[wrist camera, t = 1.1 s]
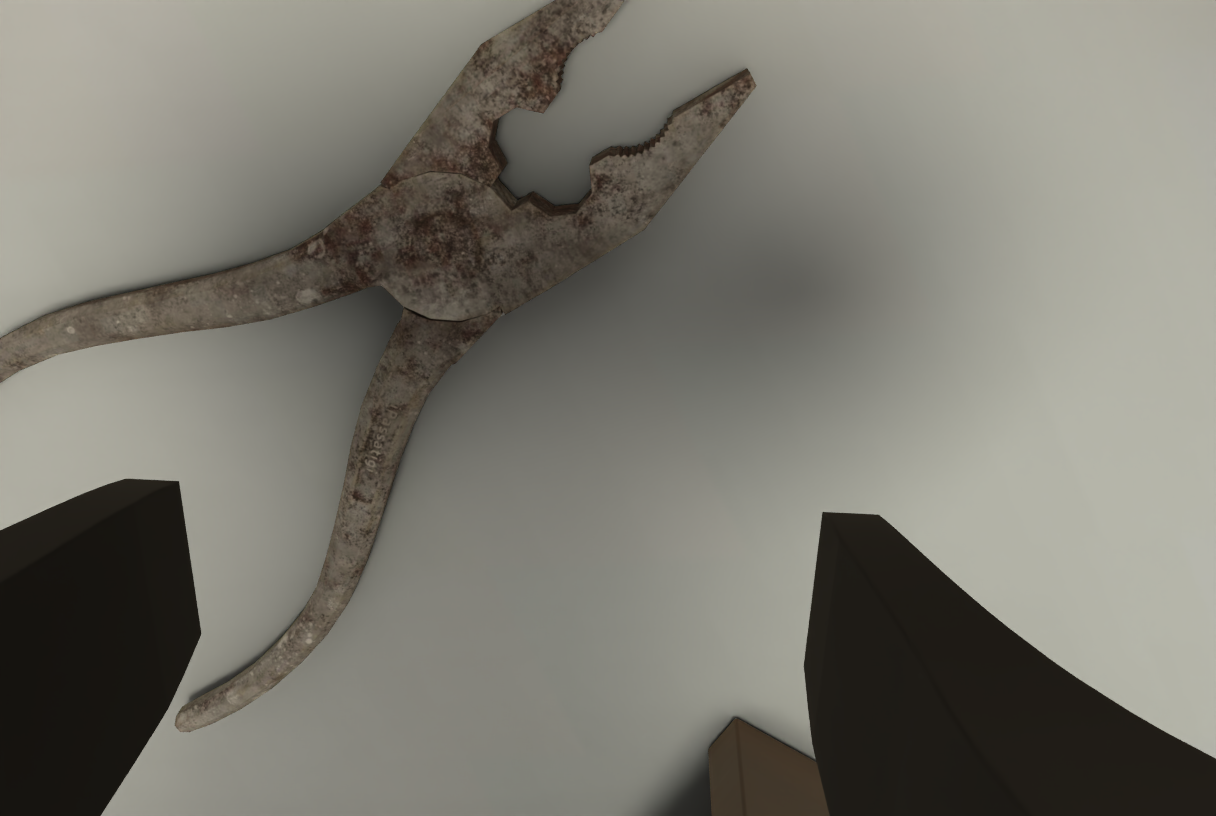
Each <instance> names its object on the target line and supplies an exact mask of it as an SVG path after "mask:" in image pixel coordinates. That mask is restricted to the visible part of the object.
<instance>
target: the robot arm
mask: <svg viewBox="0 0 1216 816" xmlns="http://www.w3.org/2000/svg"><path fill="white" fill-rule="evenodd" d="M200 636H201V628H200V621H199V615H198V608H197V601H196V594H195V587H194V581H193V574H192V567H191V560H190V553H189V547H188V540H187V533H186V526H185V519H184V513H183V506H182V499H181V492H180V485H179V481H162V480H141V479H124V480H120V481H117V482H114V483H110V484H107V485H105V486H102V487H99V488H97V489H94V490H91V491H89V492H86V493H84V494H82V495H79V496H77V497H74V498H72V499H70V500H67V501H65V502H63V503H61V504H58V505H56V506H54V507H51V508H49V509H47V510H45V511H43V512H40V513H38V514H36V515H34V516H31V517H29V518H27V519H25V520H23V521H20V522H18V523H16V524H14V525H11V526H9V527H7V528H5V529H3V530H0V816H101V814H102V813H103V811H104V810H105V808H106V806H107V805H108V803H109V802H110V800H111V799H112V797H113V796H114V794H115V792H116V791H117V789H118V788H119V786H120V785H121V783H122V782H123V780H124V778H125V777H126V775H127V774H128V772H129V771H130V769H131V768H132V766H133V764H134V763H135V761H136V760H137V758H138V756H139V755H140V753H141V752H142V750H143V748H144V747H145V745H146V744H147V742H148V740H149V739H150V737H151V736H152V734H153V733H154V731H155V729H156V728H157V726H158V724H159V723H160V721H161V720H162V718H163V716H164V715H165V713H166V711H167V710H168V708H169V706H170V704H171V701H172V699H173V697H174V695H175V693H176V691H177V689H178V686H179V684H180V682H181V680H182V678H183V676H184V674H185V671H186V669H187V666H188V664H189V662H190V659H191V657H192V655H193V652H194V650H195V648H196V645H197V643H198V640H199V638H200ZM804 672H805V681H806V691H807V701H808V711H809V719H810V728H811V736H812V744H813V749H814V753H815V757H816V762H817V766H818V770H819V774H820V778H821V782H822V786H823V790H824V795H825V799H826V803H827V807H828V811H829V815H830V816H1216V759H1215V758H1213V757H1212V756H1210V755H1208V754H1206V753H1204V752H1202V751H1200V750H1198V749H1196V748H1194V747H1193V746H1191V745H1189V744H1187V743H1185V742H1183V741H1181V740H1179V739H1177V738H1175V737H1174V736H1172V735H1170V734H1168V733H1166V732H1164V731H1162V730H1161V729H1159V728H1157V727H1156V726H1154V725H1152V724H1150V723H1149V722H1147V721H1145V720H1143V719H1142V718H1140V717H1138V716H1136V715H1135V714H1133V713H1131V712H1130V711H1128V710H1126V709H1125V708H1123V707H1122V706H1120V705H1119V704H1117V703H1115V702H1114V701H1112V700H1111V699H1109V698H1108V697H1106V696H1104V695H1103V694H1101V693H1100V692H1098V691H1097V690H1095V689H1093V688H1092V687H1090V686H1089V685H1087V684H1086V683H1084V682H1082V681H1081V680H1079V679H1078V678H1076V677H1075V676H1073V675H1072V674H1070V673H1069V672H1068V671H1066V670H1065V669H1063V668H1062V667H1060V666H1059V665H1057V664H1056V663H1055V662H1053V661H1052V660H1050V659H1049V658H1048V657H1046V656H1045V655H1044V654H1042V653H1041V652H1040V651H1038V650H1037V649H1036V648H1034V647H1033V646H1032V645H1030V644H1029V643H1028V642H1026V641H1025V640H1024V639H1023V638H1021V637H1020V636H1019V635H1017V634H1016V633H1015V632H1013V631H1012V630H1011V629H1009V628H1008V627H1007V626H1006V625H1004V624H1003V623H1002V622H1001V621H999V620H998V619H997V618H996V617H994V616H993V615H992V614H991V613H990V612H988V611H987V610H986V609H985V608H983V607H982V606H981V605H980V604H979V603H978V602H976V601H975V600H974V599H973V598H972V597H970V596H969V595H968V594H967V593H966V592H965V591H964V590H962V589H961V588H960V587H959V586H958V585H957V584H956V583H954V582H953V581H952V580H951V579H950V578H949V577H948V576H947V575H945V574H944V573H943V572H942V571H941V570H940V569H939V568H938V567H937V566H935V565H934V564H933V563H932V562H931V561H930V560H929V559H928V558H927V557H926V556H924V555H923V554H922V553H921V552H920V551H919V550H918V549H917V548H916V547H915V546H914V545H912V544H911V543H910V542H909V541H908V540H907V539H906V538H905V537H904V536H903V535H902V534H900V533H899V532H898V531H897V530H896V529H895V528H894V527H893V526H892V525H890V524H889V523H888V522H887V521H886V520H884V519H883V518H882V517H881V516H879V515H873V514H852V513H831V512H823V513H822V521H821V529H820V538H819V546H818V554H817V562H816V570H815V579H814V587H813V595H812V603H811V611H810V620H809V628H808V636H807V644H806V652H805V660H804Z"/></svg>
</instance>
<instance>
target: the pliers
mask: <svg viewBox="0 0 1216 816" xmlns="http://www.w3.org/2000/svg"><path fill="white" fill-rule="evenodd" d="M623 2H624V0H555V1H553V2H552V3H550V4H548V5H547V6H545V7H543V8H542V9H540V10H538V11H537V12H535V13H533V14H532V15H530V16H528V17H526V18H525V19H523V20H521V21H520V22H518V23H516V24H515V25H513V26H511V27H510V28H508V29H506V30H505V31H503V32H501V33H499V34H498V35H496V36H494V37H493V38H491V39H489V40H488V41H486V42H484V43H483V44H481V46H480V47H479V48H478V50H477V51H476V53H475V54H474V55H473V57H472V58H471V59H470V61H469V62H468V63H467V65H466V66H465V67H464V69H463V70H462V72H461V73H460V74H459V76H458V77H457V78H456V80H455V81H454V82H453V84H452V85H451V87H450V88H449V89H448V91H447V92H446V93H445V95H444V96H443V97H442V99H441V100H440V102H439V103H438V104H437V106H436V107H435V108H434V110H433V111H432V112H431V114H430V115H429V116H428V118H427V119H426V121H425V122H424V123H423V125H422V126H421V127H420V129H419V130H418V131H417V133H416V134H415V136H414V137H413V138H412V140H411V141H410V142H409V144H408V145H407V147H406V148H405V149H404V151H403V152H402V153H401V155H400V156H399V158H398V159H397V160H396V162H395V163H394V165H393V166H392V167H391V169H390V170H389V172H388V173H387V174H386V176H385V177H384V178H383V180H382V181H381V183H382V185H380V186H379V187H378V188H376V189H375V190H374V191H372V192H371V193H370V194H368V195H367V196H366V197H364V198H363V199H362V200H360V201H359V202H358V203H357V204H355V205H354V206H353V207H351V208H350V209H349V210H347V211H346V212H345V213H343V214H342V215H341V216H339V217H338V218H337V219H336V220H334V221H333V222H332V223H331V224H330V225H329V226H327V227H326V228H325V229H323V230H322V231H320V232H318V233H317V234H315V235H314V236H312V237H310V238H309V239H307V240H305V241H304V242H302V243H300V244H299V245H297V246H295V247H294V248H292V249H290V250H287V251H284V252H281V253H279V254H276V255H273V256H270V257H268V258H265V259H262V260H259V261H257V262H254V263H251V264H247V265H243V266H240V267H236V268H232V269H229V270H225V271H221V272H218V273H214V274H210V275H205V276H201V277H196V278H191V279H187V280H182V281H178V282H173V283H168V284H164V285H159V286H155V287H150V288H146V289H141V290H137V291H132V292H128V293H123V294H119V295H115V296H110V297H106V298H101V299H97V300H92V301H88V302H85V303H82V304H79V305H75V306H72V307H69V308H66V309H63V310H60V311H57V312H53V313H50V314H47V315H44V316H42V317H40V318H39V319H37V320H35V321H33V322H31V323H29V324H27V325H25V326H23V327H21V328H19V329H17V330H15V331H13V332H11V333H9V334H7V335H5V336H3V337H2V338H0V382H2V381H3V380H5V379H6V378H8V377H10V376H11V375H13V374H14V373H16V372H18V371H19V370H22V369H24V368H27V367H29V366H31V365H34V364H36V363H39V362H41V361H44V360H46V359H48V358H51V357H53V356H56V355H58V354H62V353H67V352H71V351H76V350H80V349H84V348H89V347H93V346H98V345H104V344H110V343H115V342H121V341H127V340H133V339H139V338H146V337H152V336H159V335H166V334H173V333H179V332H187V331H196V330H205V329H214V328H223V327H230V326H235V325H241V324H247V323H253V322H258V321H264V320H270V319H274V318H277V317H280V316H284V315H287V314H290V313H294V312H297V311H301V310H304V309H307V308H311V307H314V306H317V305H320V304H323V303H326V302H329V301H332V300H335V299H337V298H340V297H343V296H346V295H349V294H352V293H355V292H358V291H360V290H363V289H365V288H367V287H373V286H381V285H382V286H383V287H384V288H385V289H386V290H387V291H388V292H389V293H390V294H391V295H392V296H393V297H394V298H395V299H396V300H397V301H398V302H399V303H400V304H401V305H402V306H404V308H403V313H402V317H401V320H400V321H399V323H398V324H397V326H396V328H395V330H394V332H393V334H392V336H391V338H390V340H389V342H388V345H387V347H386V349H385V351H384V353H383V355H382V357H381V359H380V361H379V364H378V366H377V368H376V371H375V373H374V376H373V378H372V381H371V383H370V386H369V388H368V391H367V393H366V396H365V398H364V401H363V403H362V406H361V409H360V413H359V417H358V421H357V425H356V428H355V432H354V436H353V440H352V444H351V448H350V454H349V459H348V464H347V470H346V475H345V481H344V486H343V490H342V494H341V499H340V503H339V508H338V512H337V516H336V521H335V525H334V529H333V533H332V537H331V540H330V544H329V548H328V552H327V556H326V559H325V562H324V565H323V568H322V571H321V575H320V578H319V581H318V584H317V587H316V588H315V590H314V592H313V594H312V596H311V598H310V600H309V601H308V603H307V605H306V607H305V609H304V610H303V611H302V613H301V614H300V615H299V616H298V618H297V619H296V620H295V621H294V623H293V624H292V625H291V626H290V628H289V629H288V630H287V631H286V633H285V634H284V635H283V636H282V637H281V638H280V639H279V640H278V641H277V642H276V643H275V644H274V645H273V646H272V647H271V648H270V649H269V650H268V651H267V652H266V653H265V654H264V655H263V656H262V657H261V658H260V659H259V660H258V661H257V662H255V663H254V664H253V665H251V666H250V667H248V668H247V669H245V670H244V671H243V672H241V673H240V674H238V675H237V676H236V677H234V678H233V679H231V680H230V681H228V682H227V683H225V684H223V685H221V686H219V687H217V688H215V689H213V690H211V691H210V692H208V693H206V694H204V695H202V696H200V697H199V698H197V699H195V700H193V701H192V702H190V703H188V704H186V705H185V706H183V707H182V708H181V710H180V711H179V713H178V714H177V716H176V721H175V726H176V727H177V729H178V730H179V731H180V732H191V731H193V730H196V729H199V728H202V727H205V726H207V725H210V724H213V723H215V722H217V721H218V720H220V719H222V718H224V717H226V716H228V715H230V714H232V713H234V712H236V711H238V710H240V709H242V708H243V707H245V706H246V705H248V704H249V703H251V702H252V701H254V700H255V699H257V698H258V697H260V696H261V695H263V694H264V693H266V692H267V691H269V690H270V689H272V688H273V687H274V686H275V685H276V684H277V683H279V682H280V681H281V680H282V679H283V678H284V677H285V676H287V675H288V674H289V673H290V672H291V671H292V670H293V669H295V668H296V667H297V666H298V665H299V664H300V663H301V662H302V661H303V660H304V659H305V658H306V657H307V656H308V655H309V654H310V653H311V652H312V651H313V649H314V648H315V647H316V646H317V645H318V644H319V643H320V642H321V641H322V640H323V639H324V637H325V636H326V635H327V634H328V633H329V631H330V630H331V628H332V627H333V625H334V624H335V622H336V620H337V619H338V617H339V616H340V614H341V613H342V611H343V610H344V608H345V607H346V605H347V604H348V602H349V600H350V598H351V596H352V594H353V592H354V590H355V587H356V585H357V583H358V581H359V578H360V576H361V574H362V571H363V569H364V567H365V565H366V562H367V560H368V557H369V554H370V551H371V548H372V545H373V542H374V539H375V536H376V533H377V530H378V527H379V524H380V521H381V518H382V515H383V512H384V509H385V506H386V503H387V500H388V497H389V494H390V491H391V487H392V484H393V481H394V478H395V475H396V472H397V469H398V466H399V463H400V459H401V456H402V454H403V451H404V449H405V446H406V443H407V441H408V438H409V436H410V433H411V431H412V428H413V425H414V423H415V421H416V419H417V417H418V415H419V413H420V410H421V408H422V406H423V404H424V402H425V400H426V398H427V396H428V394H429V393H430V392H431V390H432V389H433V388H434V386H435V385H436V384H437V382H438V381H439V380H440V379H441V377H442V376H443V375H444V373H445V372H446V371H447V369H448V368H449V367H450V366H451V364H455V363H456V362H457V361H458V360H459V359H460V358H461V357H462V356H463V355H464V354H465V353H466V352H467V351H468V350H469V349H470V347H471V346H472V345H473V344H474V343H475V342H476V341H477V340H478V339H479V338H480V337H481V336H482V335H483V334H484V333H485V332H486V331H487V330H488V328H489V327H490V326H491V325H492V324H493V323H494V322H495V321H496V320H497V319H498V318H499V317H500V316H501V315H502V313H503V312H504V313H505V315H506V314H507V313H509V312H511V311H512V310H514V309H516V308H518V307H519V306H521V305H523V304H524V303H526V302H528V301H529V300H531V299H533V298H535V297H536V296H538V295H540V294H541V293H543V292H545V291H547V290H548V289H550V288H551V287H553V286H555V285H556V284H558V283H559V282H561V281H563V280H564V279H566V278H567V277H569V276H571V275H572V274H574V273H576V272H577V271H579V270H580V269H582V268H584V267H585V266H587V265H588V264H590V263H592V262H593V261H595V260H596V259H598V258H600V257H601V256H603V255H604V254H606V253H608V252H609V251H611V250H613V249H614V248H616V247H617V246H619V245H621V244H622V243H624V242H625V241H627V240H629V239H630V238H632V237H633V236H635V235H637V234H638V233H640V232H641V231H643V230H644V229H645V228H646V227H647V225H648V224H649V223H650V222H651V220H652V219H653V218H654V216H655V215H656V214H657V213H658V211H659V210H660V209H661V207H662V206H663V205H664V204H665V202H666V201H667V200H668V198H669V197H670V196H671V195H672V193H673V192H674V191H675V190H676V188H677V187H678V186H679V184H680V183H681V182H682V181H683V179H684V178H685V177H686V175H687V174H688V173H689V172H690V170H691V169H692V168H693V166H694V165H695V164H696V163H697V161H698V160H699V159H700V158H701V156H702V155H703V154H704V152H705V151H706V150H707V149H708V147H709V146H710V145H711V143H712V142H713V141H714V140H715V138H716V137H717V136H718V134H719V133H720V132H721V131H722V129H723V128H724V127H725V126H726V124H727V123H728V122H729V120H730V119H731V118H732V117H733V115H734V114H735V113H736V111H737V110H738V109H739V108H740V106H741V105H742V104H743V102H744V101H745V100H746V99H747V97H748V96H749V95H750V94H751V92H752V91H753V90H754V88H755V87H756V84H755V82H754V80H753V78H752V76H751V74H750V72H749V71H748V69H745V70H744V71H742V72H740V73H738V74H737V75H735V76H733V77H731V78H730V79H728V80H726V81H724V82H723V83H721V84H719V85H717V86H716V87H714V88H712V89H710V90H709V91H707V92H705V93H704V94H702V95H700V96H698V97H697V98H695V99H693V100H691V101H690V102H688V103H686V104H684V105H683V106H681V107H679V108H677V109H676V110H674V111H673V113H672V116H671V117H669V118H668V123H667V124H664V129H661V130H660V134H656V138H655V139H652V138H651V139H650V143H648V142H645V143H644V145H643V146H642V145H640V144H639V145H638V147H637V148H636V147H634V146H632V147H631V148H630V149H629V148H628V147H627V146H626V147H625V148H624V149H622V147H621V146H619V147H617V148H614V147H610V148H608V149H606V150H604V151H603V152H601V153H599V154H598V155H596V156H594V157H592V160H591V163H590V166H589V168H590V178H591V189H590V190H589V192H588V193H587V194H586V196H585V197H584V198H583V200H582V201H581V202H580V203H579V204H569V205H560V206H554V205H553V204H551V203H550V202H548V201H547V200H545V199H544V198H542V197H541V196H539V195H538V194H536V193H535V192H531V193H530V194H528V195H526V196H525V197H523V198H521V199H519V200H518V201H517V200H516V198H515V197H514V196H513V195H512V194H511V193H510V192H509V191H508V189H507V188H506V187H505V186H504V185H503V184H502V183H501V182H500V180H499V179H498V178H497V177H498V176H499V174H500V173H501V171H502V170H503V169H504V167H505V166H506V165H507V161H506V159H505V157H504V155H503V153H502V151H501V150H500V148H499V146H498V144H497V142H496V140H495V137H496V132H497V127H498V122H499V117H501V116H502V115H504V114H506V113H507V112H509V111H511V110H512V109H514V108H515V107H518V108H522V109H527V110H531V111H535V112H539V113H544V112H545V110H546V109H547V108H548V106H549V105H550V103H551V102H552V101H553V99H554V98H555V96H556V95H557V94H558V92H559V91H560V89H561V85H560V83H561V82H562V80H563V79H562V77H561V75H562V74H563V73H564V72H563V71H562V69H563V68H564V66H565V65H564V63H565V61H566V60H567V57H568V56H569V54H570V52H571V51H572V50H573V49H574V47H576V46H577V45H578V43H581V42H582V41H583V40H584V39H588V38H589V36H592V37H594V36H595V34H596V33H598V32H602V31H603V30H604V28H605V27H606V25H607V24H608V23H609V21H610V20H611V18H612V17H613V16H614V14H615V13H616V12H617V10H618V9H619V7H620V6H621V5H622V3H623Z"/></svg>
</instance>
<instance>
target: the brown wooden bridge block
mask: <svg viewBox="0 0 1216 816" xmlns="http://www.w3.org/2000/svg"><path fill="white" fill-rule="evenodd" d="M708 756H709V775H710V794H711V812H712V816H830V815H829V811H828V807H827V803H826V799H825V795H824V790H823V786H822V782H821V778H820V774H819V770H818V766H817V762H815V761H813V760H812V759H810V758H808V757H806V756H804V755H803V754H801V753H799V752H797V751H795V750H794V749H792V748H790V747H788V746H786V745H784V744H783V743H781V742H779V741H777V740H775V739H774V738H772V737H770V736H768V735H766V734H765V733H763V732H761V731H759V730H757V729H756V728H754V727H752V726H750V725H748V724H747V723H745V722H743V721H741V720H739V719H734V720H733V722H732V723H731V724H730V725H729V726H728V727H727V728H726V730H725V731H724V732H723V733H722V734H721V735H720V737H719V738H718V739H717V740H716V741H715V742H714V743H713V745H712V746H711V747H710V748H709V750H708Z"/></svg>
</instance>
